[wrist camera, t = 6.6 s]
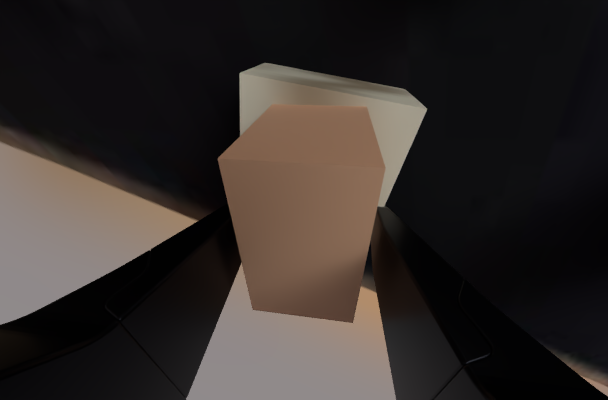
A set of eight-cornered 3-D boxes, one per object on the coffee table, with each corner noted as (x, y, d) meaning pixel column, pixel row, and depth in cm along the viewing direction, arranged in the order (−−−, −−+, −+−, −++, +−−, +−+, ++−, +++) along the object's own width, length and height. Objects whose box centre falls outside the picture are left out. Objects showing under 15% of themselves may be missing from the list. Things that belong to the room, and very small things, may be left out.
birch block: (403, 88, 12) (427, 108, 9) (362, 199, 16) (368, 242, 13) (267, 62, 12) (239, 73, 9) (260, 179, 16) (240, 216, 13)
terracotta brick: (366, 106, 9) (386, 168, 5) (349, 227, 12) (352, 322, 8) (272, 103, 9) (217, 158, 5) (281, 221, 13) (252, 309, 9)
